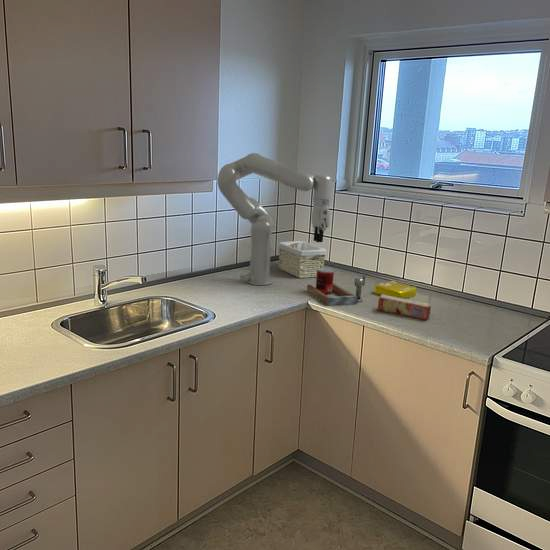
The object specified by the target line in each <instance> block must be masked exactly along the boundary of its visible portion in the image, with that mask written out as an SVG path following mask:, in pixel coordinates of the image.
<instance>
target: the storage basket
mask: <svg viewBox="0 0 550 550" xmlns="http://www.w3.org/2000/svg"><path fill="white" fill-rule="evenodd" d="M278 249H279V251H278V252H279V253H278V254H279V255H278V263H279V264H278V267H279V269H280V270H281V271H284V272H286V273H288V274H290V275H292V276H294V277H296V278H299V279H306V278H307V279H308V278H317V269H318V268H324V265H325V259H326V255H327V249H326V248H323V247H321V246H318V245H315V244H312V243H310V242H308V241H305V240H300V241H298V240H297V241H296V240H295V241H293V240H292V241H280V242H279V243H278Z"/></svg>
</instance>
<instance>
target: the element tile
mask: <svg viewBox="0 0 550 550" xmlns="http://www.w3.org/2000/svg"><path fill="white" fill-rule="evenodd" d="M417 291H418V290H417V286H413V285H409V284H406V283H402V282H398V281H394V280H390V281H386V282H382V283H377V284H375V285H374V292H373V293H374V294H375V295H378V296H381V295H387V296H392V297H396V298H402V299H407V298H408V299H411V298H410V297H412V298H414V296H415V297H416V296H417ZM408 299H407V300H408Z"/></svg>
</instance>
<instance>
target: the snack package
mask: <svg viewBox="0 0 550 550" xmlns="http://www.w3.org/2000/svg"><path fill="white" fill-rule="evenodd" d="M377 310H378V311H380V312H385V313H391V314H397V315H401V316H406V317H411V318H415V319H420V320H424V321H426V320H428V319H429V317H430V315H431V304H430V303H427V302H422V301H415V300H412V299H402V298H396V297H392V296H387V295H379V298H378V301H377Z"/></svg>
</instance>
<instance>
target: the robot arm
mask: <svg viewBox="0 0 550 550" xmlns="http://www.w3.org/2000/svg"><path fill="white" fill-rule="evenodd" d="M252 174H255V175H258V176H260V177H264V178H267V179H269V180H271V181H274V182H277V183H279V184H283V185H285V186H287V187H290V188H293V189H294V190H298V191H301V192H309V191H310V190H313V195H312V212H311V224H312V228H313V242H316V243H323V241H324V234H325V231H326V230H327V228H329V226H330V208H329V207H330V197H331V185H332V183H331V182H332V178H331V176H330V175H327V174H317V175H316V174H311V173H306V172H305V173H302V172H300V171H298V170H294V169H292V168H289V167H288V166H286V165H284V163H281V162H279V161H277V160H274V159H271V158H268V157H265V156H262V155H261V154H260V153H257V152H251V153H249V154H247V155H246V156H244V157H242V158H240V159H237V160H235V161H233V162H230V163H227V164H224V165H223V166H222V167H221V168H220V170H219V172H218V174H217V187H218V189H219V191H220V193H221V194H222V196H223V197H224V198H225V200H227V202H228V203H229V204H230V206H231V207H232V208H233V209H234V210H235V212H236V213H237V214H238V215H239V216H240V217H241V218H242V219H244V220H247V221H248V222H249V223H250V224H251V226H250V257H249V259H250V260H249V261H250V263H249V271H247V273H245V274H244V273H243V274H239V278H240V279H243V280H245V281H246V283H247V284H249V285H254V286H268V285H271V284H272V283H273V279H272V278H270V272H271V271H270V270H271V268H270V266H271V254H272V252H271V250H272V231H273V229H274V224H275V223H274V219H273V218H272V217H271V216H270V214H269V213H268V212H267V210H265V208H264V207H263V206H262V205H261V204H260V202H259V201H258V200H257V199H255V198H254V197H249V196H248V195H247V194H246V193H245V192H244V190H243V189H242V188H241V187H240V186H239V185H238V183H237V181H238V180H240V179H242V178H244V177H247V176H249V175H252Z"/></svg>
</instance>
